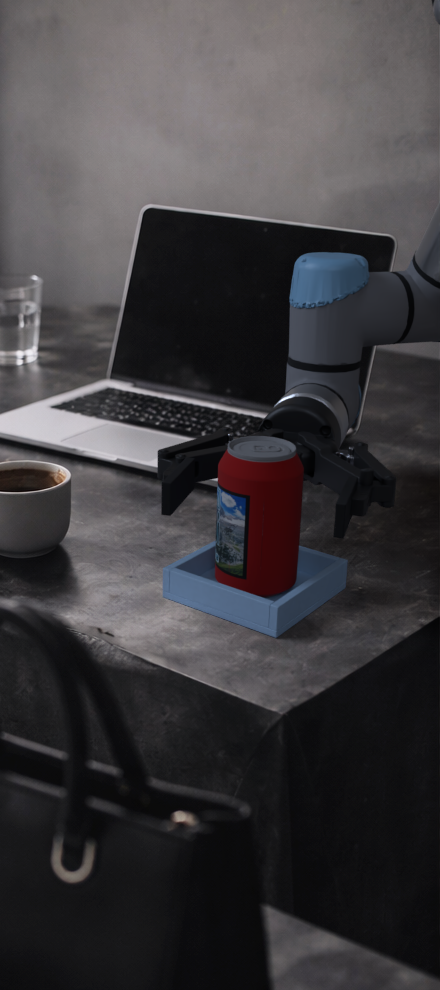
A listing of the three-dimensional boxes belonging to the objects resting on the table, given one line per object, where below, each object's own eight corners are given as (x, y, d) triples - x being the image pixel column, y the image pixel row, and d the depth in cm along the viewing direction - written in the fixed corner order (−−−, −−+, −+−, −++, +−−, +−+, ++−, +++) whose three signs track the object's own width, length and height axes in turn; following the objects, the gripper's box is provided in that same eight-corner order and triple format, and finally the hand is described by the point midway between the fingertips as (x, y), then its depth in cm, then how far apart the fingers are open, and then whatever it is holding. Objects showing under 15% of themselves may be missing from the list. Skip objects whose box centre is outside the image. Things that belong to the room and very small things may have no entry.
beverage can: (212, 567, 83) (216, 432, 79) (291, 567, 84) (299, 433, 79) (216, 604, 77) (220, 459, 73) (301, 604, 77) (311, 460, 73)
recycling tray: (345, 588, 82) (348, 559, 81) (276, 638, 73) (277, 607, 72) (238, 554, 87) (239, 527, 87) (162, 597, 79) (162, 568, 78)
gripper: (431, 485, 92) (411, 577, 73) (178, 455, 98) (98, 534, 79) (439, 408, 89) (421, 482, 70) (179, 382, 95) (97, 445, 76)
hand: (250, 510), depth 74 cm, fingers open, 13 cm apart
